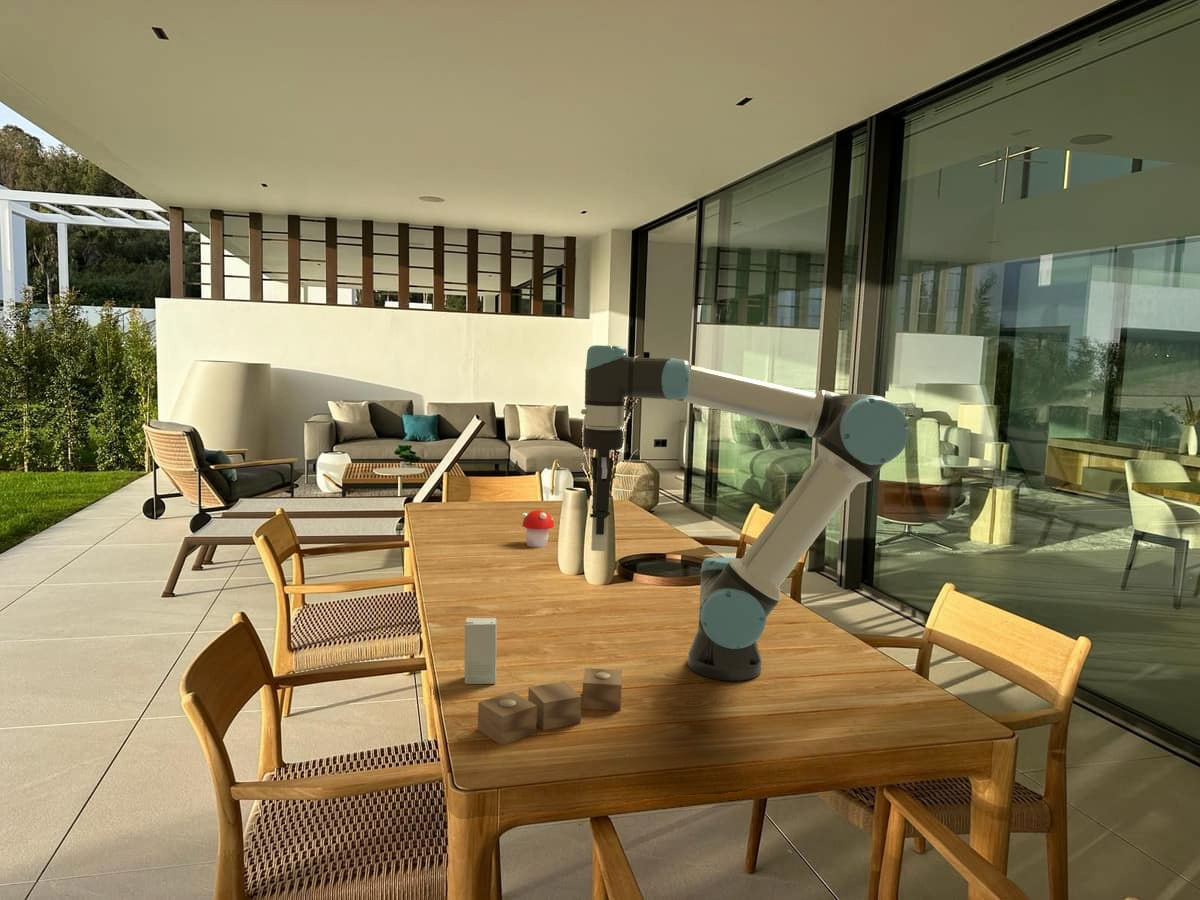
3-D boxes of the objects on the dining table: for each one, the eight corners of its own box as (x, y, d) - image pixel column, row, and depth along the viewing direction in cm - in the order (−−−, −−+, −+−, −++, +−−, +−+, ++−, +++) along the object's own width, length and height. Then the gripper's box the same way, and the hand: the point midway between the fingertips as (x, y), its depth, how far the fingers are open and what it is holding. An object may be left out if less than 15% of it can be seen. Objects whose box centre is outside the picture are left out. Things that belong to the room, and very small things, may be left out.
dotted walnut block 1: (511, 719, 140) (512, 690, 139) (536, 734, 134) (537, 704, 134) (477, 730, 135) (478, 701, 134) (501, 746, 130) (502, 715, 129)
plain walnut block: (563, 707, 145) (564, 681, 144) (580, 724, 139) (581, 696, 138) (527, 714, 142) (528, 687, 141) (543, 731, 136) (544, 703, 135)
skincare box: (496, 676, 158) (498, 616, 156) (495, 685, 153) (497, 624, 152) (464, 676, 157) (466, 616, 156) (463, 685, 152) (464, 623, 151)
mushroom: (518, 541, 272) (519, 507, 271) (549, 540, 275) (550, 506, 274) (524, 549, 262) (525, 513, 261) (557, 548, 265) (558, 512, 264)
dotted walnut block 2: (620, 695, 151) (622, 669, 151) (620, 711, 144) (621, 683, 144) (584, 693, 152) (585, 667, 151) (581, 709, 145) (582, 681, 144)
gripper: (581, 424, 157) (577, 541, 160) (585, 430, 144) (580, 557, 147) (619, 425, 158) (614, 542, 161) (627, 431, 145) (621, 558, 148)
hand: (598, 549), depth 154 cm, fingers closed
